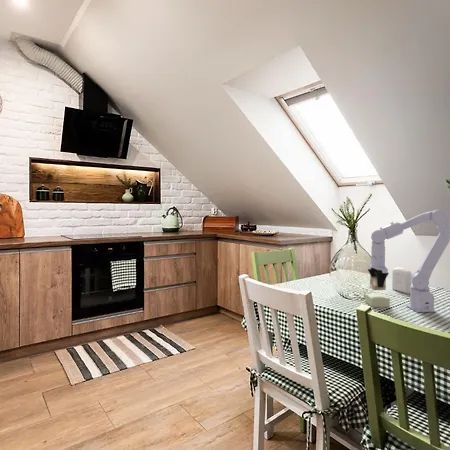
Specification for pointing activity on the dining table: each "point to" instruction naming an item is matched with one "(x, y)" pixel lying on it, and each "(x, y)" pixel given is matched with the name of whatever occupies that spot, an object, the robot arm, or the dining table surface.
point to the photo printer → (402, 280)
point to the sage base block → (377, 300)
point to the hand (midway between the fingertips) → (377, 285)
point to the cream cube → (374, 284)
